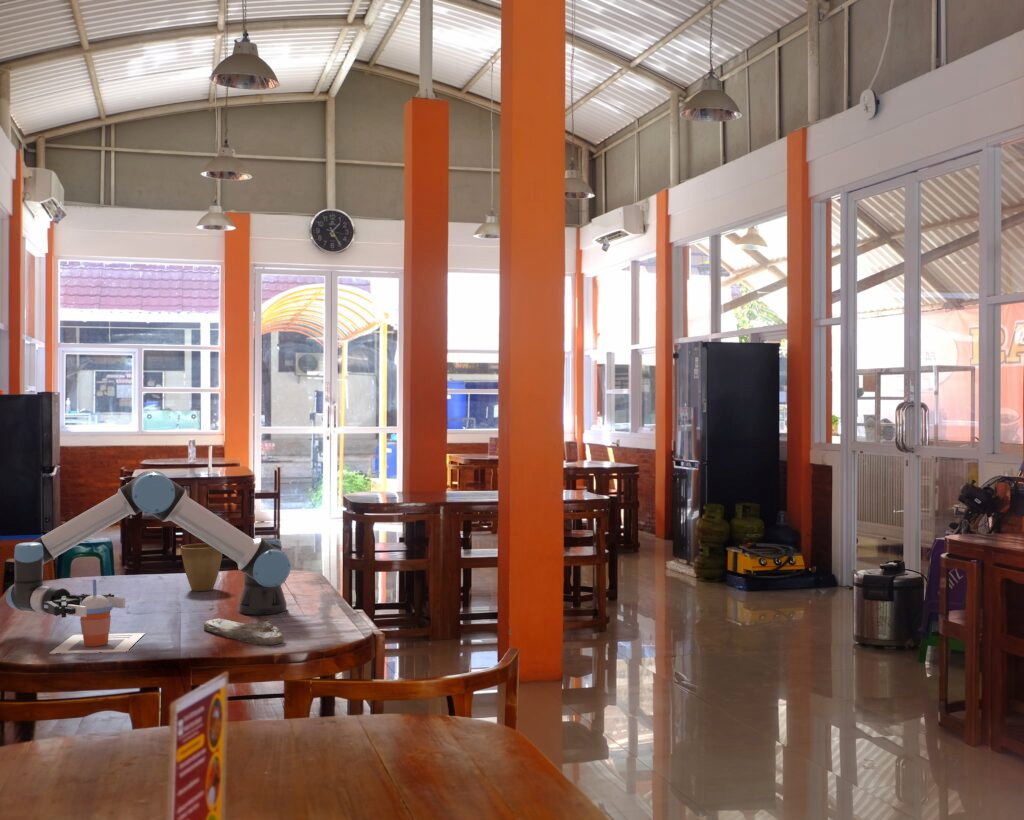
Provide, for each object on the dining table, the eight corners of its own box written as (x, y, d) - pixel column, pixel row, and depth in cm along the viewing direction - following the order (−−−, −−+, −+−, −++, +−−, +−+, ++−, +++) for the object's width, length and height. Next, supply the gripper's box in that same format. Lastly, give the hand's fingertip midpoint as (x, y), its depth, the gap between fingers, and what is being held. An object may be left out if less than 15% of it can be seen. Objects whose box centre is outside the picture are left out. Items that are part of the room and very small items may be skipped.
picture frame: (145, 634, 305) (145, 632, 305) (126, 651, 283) (126, 650, 283) (73, 635, 302) (73, 634, 302) (49, 653, 280) (49, 652, 280)
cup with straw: (101, 648, 284) (99, 583, 284) (71, 647, 286) (69, 582, 286) (120, 640, 293) (118, 577, 293) (91, 639, 295) (89, 576, 295)
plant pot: (232, 588, 380) (232, 544, 380) (200, 594, 367) (200, 549, 367) (203, 584, 388) (203, 541, 388) (171, 590, 375) (171, 546, 375)
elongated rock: (223, 630, 318) (194, 637, 311) (222, 613, 318) (193, 619, 311) (294, 641, 295) (265, 649, 288) (293, 622, 295) (264, 630, 288)
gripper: (87, 606, 309) (139, 613, 299) (13, 621, 287) (67, 629, 277) (87, 580, 309) (139, 587, 299) (13, 594, 286) (67, 601, 277)
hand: (105, 607), depth 288 cm, fingers open, 13 cm apart
